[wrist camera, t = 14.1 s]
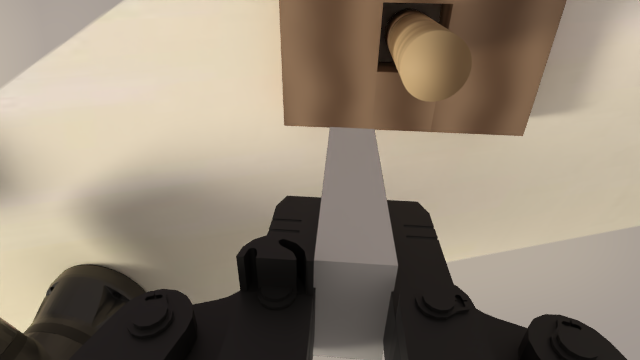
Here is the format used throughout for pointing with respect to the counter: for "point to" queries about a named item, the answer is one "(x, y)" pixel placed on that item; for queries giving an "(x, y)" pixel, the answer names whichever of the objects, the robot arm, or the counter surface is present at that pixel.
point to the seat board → (383, 77)
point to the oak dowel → (427, 55)
